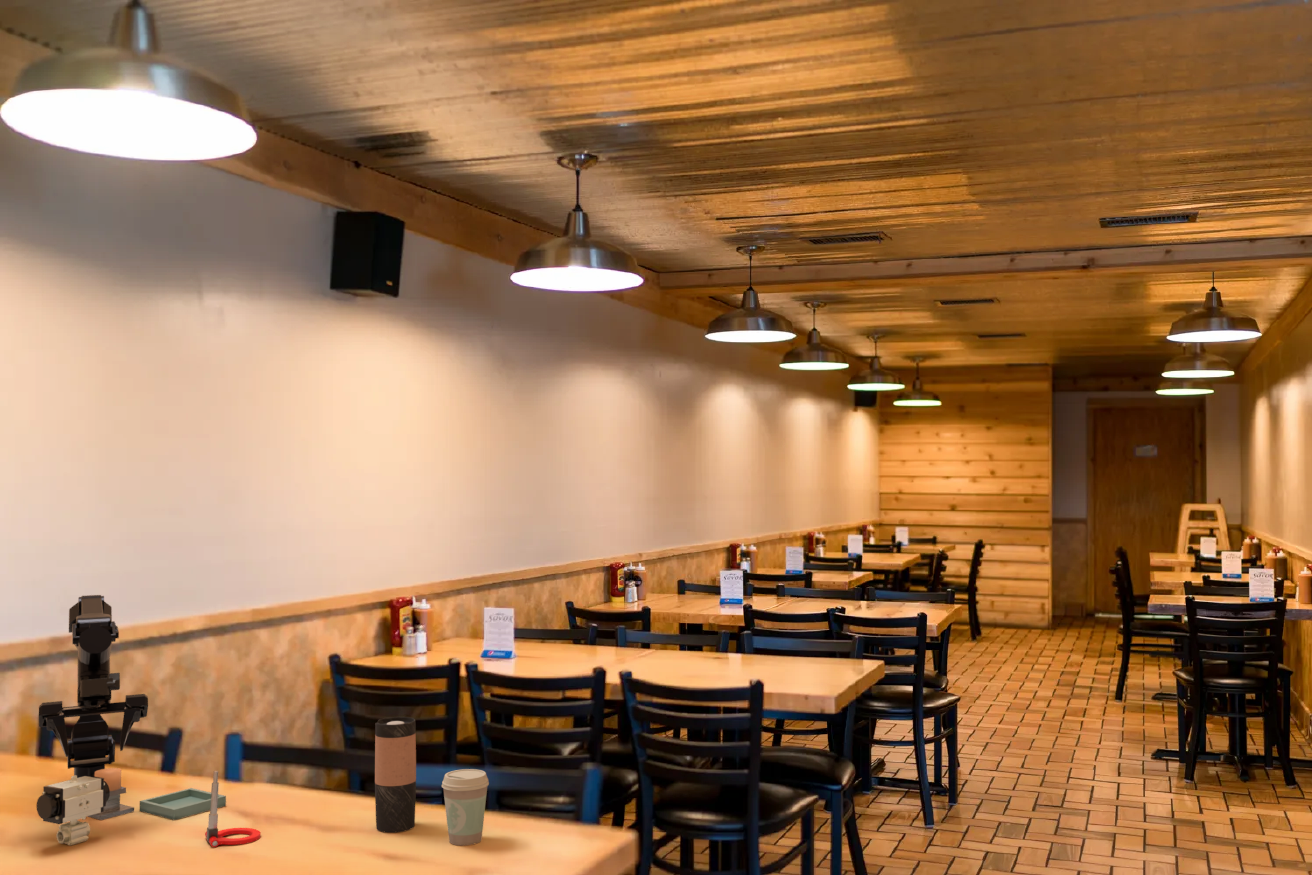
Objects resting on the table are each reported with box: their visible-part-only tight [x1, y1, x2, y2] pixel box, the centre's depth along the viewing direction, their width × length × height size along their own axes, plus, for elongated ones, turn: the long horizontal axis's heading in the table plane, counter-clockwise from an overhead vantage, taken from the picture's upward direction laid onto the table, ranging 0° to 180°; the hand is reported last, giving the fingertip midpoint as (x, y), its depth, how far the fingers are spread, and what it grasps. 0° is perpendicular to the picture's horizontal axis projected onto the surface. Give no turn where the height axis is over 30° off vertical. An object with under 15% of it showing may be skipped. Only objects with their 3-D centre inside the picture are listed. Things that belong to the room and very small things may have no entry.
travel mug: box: [374, 716, 417, 834], centre depth 218 cm, size 8×8×20 cm
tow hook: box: [204, 770, 261, 848], centre depth 211 cm, size 8×13×9 cm
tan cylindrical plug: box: [95, 767, 127, 797], centre depth 229 cm, size 5×5×4 cm
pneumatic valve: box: [36, 775, 110, 846], centre depth 210 cm, size 6×12×12 cm, turn 152°
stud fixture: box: [87, 794, 135, 821], centre depth 228 cm, size 7×7×4 cm
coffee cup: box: [441, 768, 490, 846], centre depth 209 cm, size 8×9×12 cm
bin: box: [139, 787, 227, 821], centre depth 231 cm, size 12×12×2 cm
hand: (94, 752), depth 216 cm, fingers open, 9 cm apart
